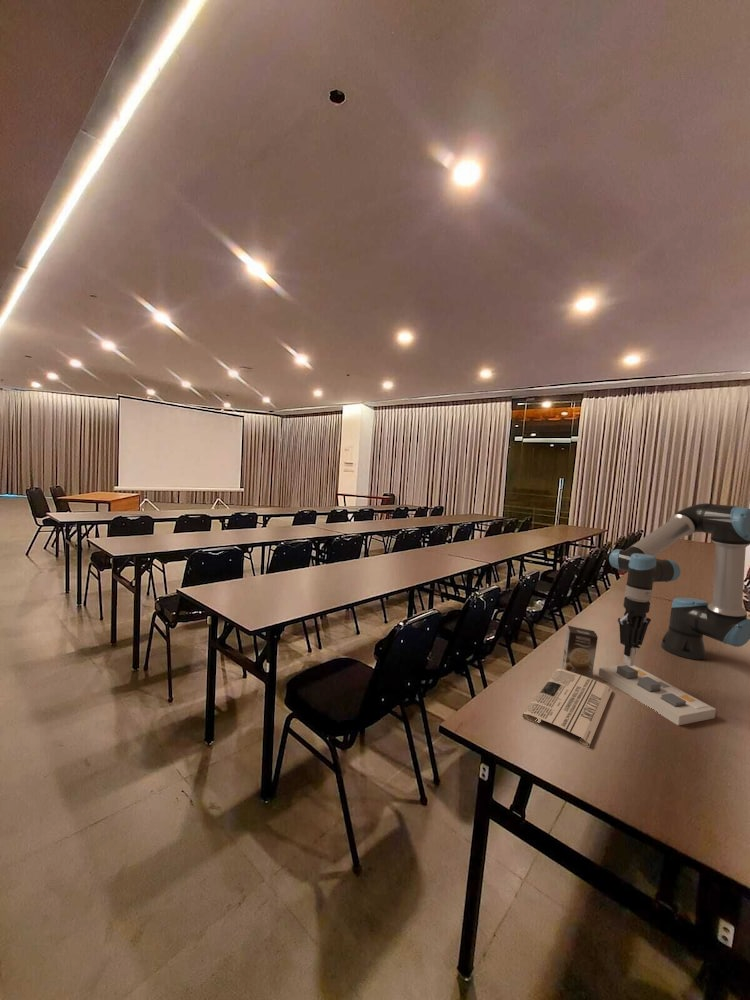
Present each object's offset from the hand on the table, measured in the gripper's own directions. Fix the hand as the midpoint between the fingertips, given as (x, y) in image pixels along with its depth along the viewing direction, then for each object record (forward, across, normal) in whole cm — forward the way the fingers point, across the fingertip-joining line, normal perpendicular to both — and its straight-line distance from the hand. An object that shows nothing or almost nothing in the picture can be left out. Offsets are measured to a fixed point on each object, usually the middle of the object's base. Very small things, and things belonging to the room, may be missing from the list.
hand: (628, 664), depth 141 cm
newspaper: (+8, -30, -7) cm, 32 cm away
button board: (+7, +2, -8) cm, 11 cm away
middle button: (+5, 0, -8) cm, 9 cm away
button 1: (+5, 0, 0) cm, 5 cm away
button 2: (+6, 0, -16) cm, 17 cm away
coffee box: (+7, -13, +9) cm, 17 cm away
